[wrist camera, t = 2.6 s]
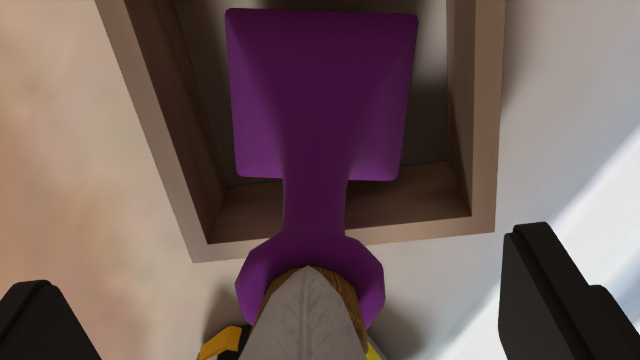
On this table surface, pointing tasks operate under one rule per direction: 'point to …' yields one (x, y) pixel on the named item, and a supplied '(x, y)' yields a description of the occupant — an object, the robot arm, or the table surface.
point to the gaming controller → (229, 344)
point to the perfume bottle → (315, 167)
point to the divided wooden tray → (267, 198)
